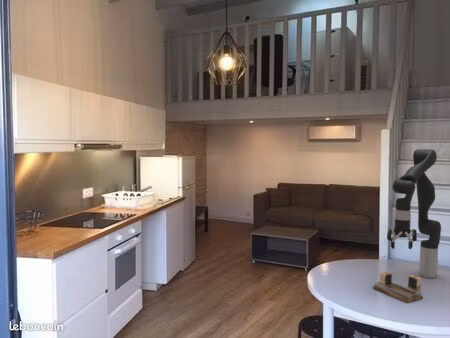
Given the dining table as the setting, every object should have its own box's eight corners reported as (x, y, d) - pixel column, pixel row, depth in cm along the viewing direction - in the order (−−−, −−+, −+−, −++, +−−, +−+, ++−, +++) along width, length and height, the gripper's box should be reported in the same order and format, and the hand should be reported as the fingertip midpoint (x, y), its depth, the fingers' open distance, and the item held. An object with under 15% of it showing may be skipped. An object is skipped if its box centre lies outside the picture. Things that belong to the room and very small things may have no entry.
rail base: (388, 285, 205) (389, 269, 205) (422, 298, 188) (423, 282, 187) (373, 288, 200) (373, 273, 199) (406, 303, 182) (407, 286, 182)
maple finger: (420, 291, 198) (421, 278, 197) (416, 292, 196) (417, 279, 196) (411, 287, 202) (412, 274, 202) (407, 288, 201) (408, 275, 200)
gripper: (413, 217, 200) (412, 246, 202) (386, 216, 202) (384, 246, 203) (419, 220, 193) (418, 251, 194) (391, 219, 194) (389, 250, 195)
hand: (401, 248), depth 199 cm, fingers open, 8 cm apart
